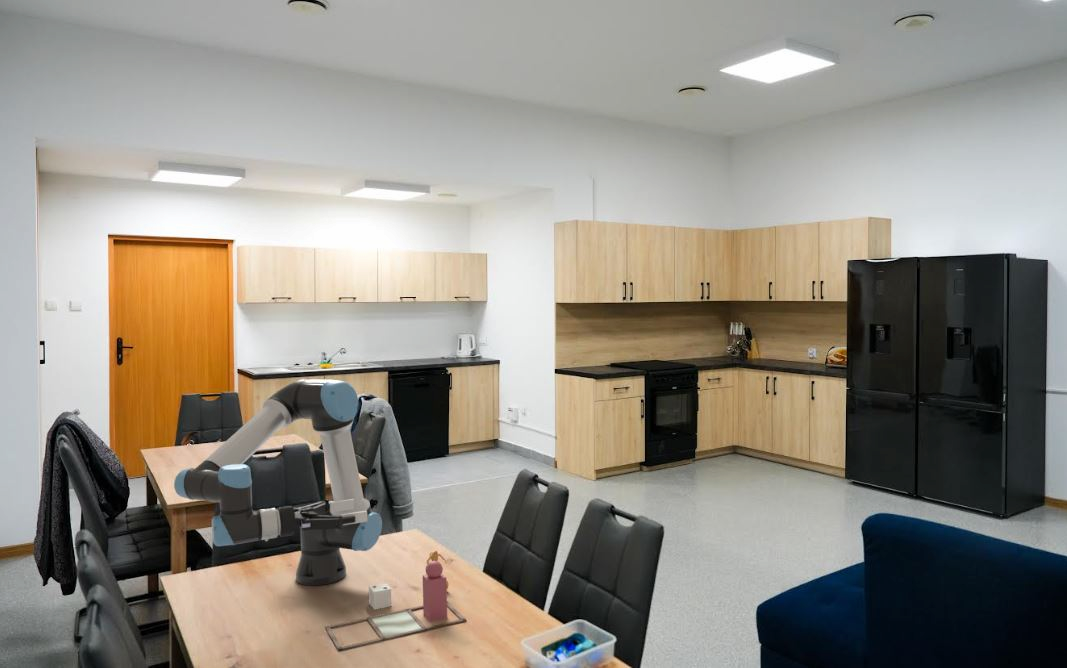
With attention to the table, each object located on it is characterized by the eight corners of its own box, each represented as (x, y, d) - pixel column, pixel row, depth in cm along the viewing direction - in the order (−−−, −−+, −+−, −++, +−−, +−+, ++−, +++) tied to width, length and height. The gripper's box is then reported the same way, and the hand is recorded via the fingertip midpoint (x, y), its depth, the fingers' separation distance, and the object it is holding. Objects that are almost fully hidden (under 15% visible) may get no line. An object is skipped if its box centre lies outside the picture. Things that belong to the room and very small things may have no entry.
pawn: (423, 614, 203) (422, 560, 203) (440, 610, 206) (439, 556, 205) (429, 621, 199) (428, 565, 198) (447, 617, 201) (445, 562, 201)
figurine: (438, 597, 215) (437, 557, 214) (422, 594, 218) (421, 553, 217) (455, 588, 222) (454, 548, 221) (439, 584, 225) (438, 545, 224)
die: (369, 603, 211) (368, 586, 211) (386, 600, 214) (385, 582, 214) (374, 609, 207) (373, 592, 207) (391, 606, 209) (391, 588, 209)
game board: (325, 628, 196) (325, 626, 196) (446, 601, 212) (446, 600, 212) (338, 651, 183) (338, 649, 183) (466, 621, 198) (466, 619, 198)
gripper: (270, 524, 201) (349, 512, 211) (286, 550, 179) (373, 536, 189) (269, 496, 201) (348, 486, 211) (285, 520, 179) (372, 506, 189)
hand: (360, 509), depth 200 cm, fingers open, 13 cm apart
